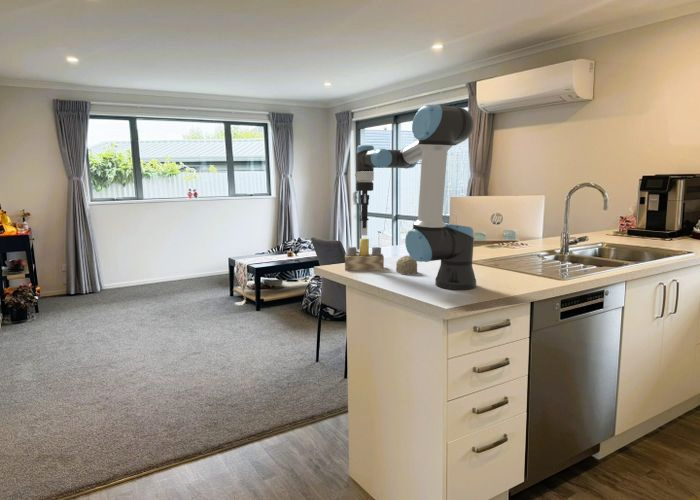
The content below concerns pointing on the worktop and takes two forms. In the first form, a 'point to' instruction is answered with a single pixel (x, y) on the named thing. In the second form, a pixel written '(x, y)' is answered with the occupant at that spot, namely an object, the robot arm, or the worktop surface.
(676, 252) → the worktop surface
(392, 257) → the worktop surface
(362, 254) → the mustard plug
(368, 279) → the worktop surface
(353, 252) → the grey plug
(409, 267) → the sponge
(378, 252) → the grey plug
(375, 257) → the socket block
